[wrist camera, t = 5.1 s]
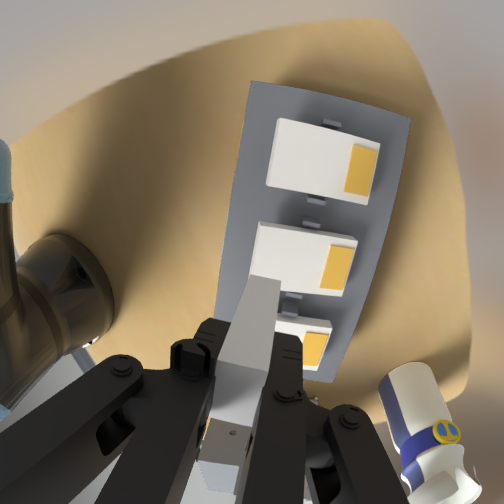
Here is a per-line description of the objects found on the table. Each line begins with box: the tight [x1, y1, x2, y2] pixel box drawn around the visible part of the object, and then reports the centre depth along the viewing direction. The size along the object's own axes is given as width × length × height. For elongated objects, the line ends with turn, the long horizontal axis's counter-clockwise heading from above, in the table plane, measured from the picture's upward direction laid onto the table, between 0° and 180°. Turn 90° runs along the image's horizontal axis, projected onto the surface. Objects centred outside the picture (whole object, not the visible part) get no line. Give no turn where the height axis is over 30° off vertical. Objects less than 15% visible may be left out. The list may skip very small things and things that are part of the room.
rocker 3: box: [275, 313, 333, 371], centre depth 24 cm, size 7×4×1 cm, turn 80°
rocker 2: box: [248, 221, 358, 297], centre depth 21 cm, size 7×4×1 cm, turn 80°
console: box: [213, 81, 411, 383], centre depth 25 cm, size 12×24×8 cm, turn 170°
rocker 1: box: [266, 118, 380, 205], centre depth 19 cm, size 7×4×1 cm, turn 80°
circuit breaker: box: [196, 397, 318, 504], centre depth 30 cm, size 8×14×15 cm, turn 92°
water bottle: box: [378, 362, 482, 504], centre depth 21 cm, size 8×9×25 cm
